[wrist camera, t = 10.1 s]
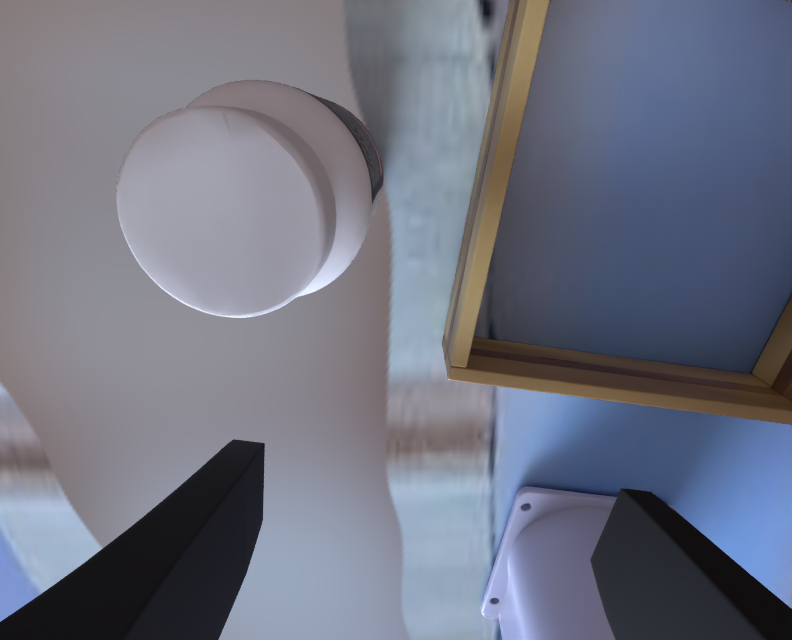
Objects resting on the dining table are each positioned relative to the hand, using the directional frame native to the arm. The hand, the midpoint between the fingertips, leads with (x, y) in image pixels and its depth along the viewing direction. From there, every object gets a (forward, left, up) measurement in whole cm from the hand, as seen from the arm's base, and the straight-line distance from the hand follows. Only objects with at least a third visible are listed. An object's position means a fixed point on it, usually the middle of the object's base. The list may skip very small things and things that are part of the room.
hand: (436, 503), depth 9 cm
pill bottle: (+5, +5, -11) cm, 13 cm away
